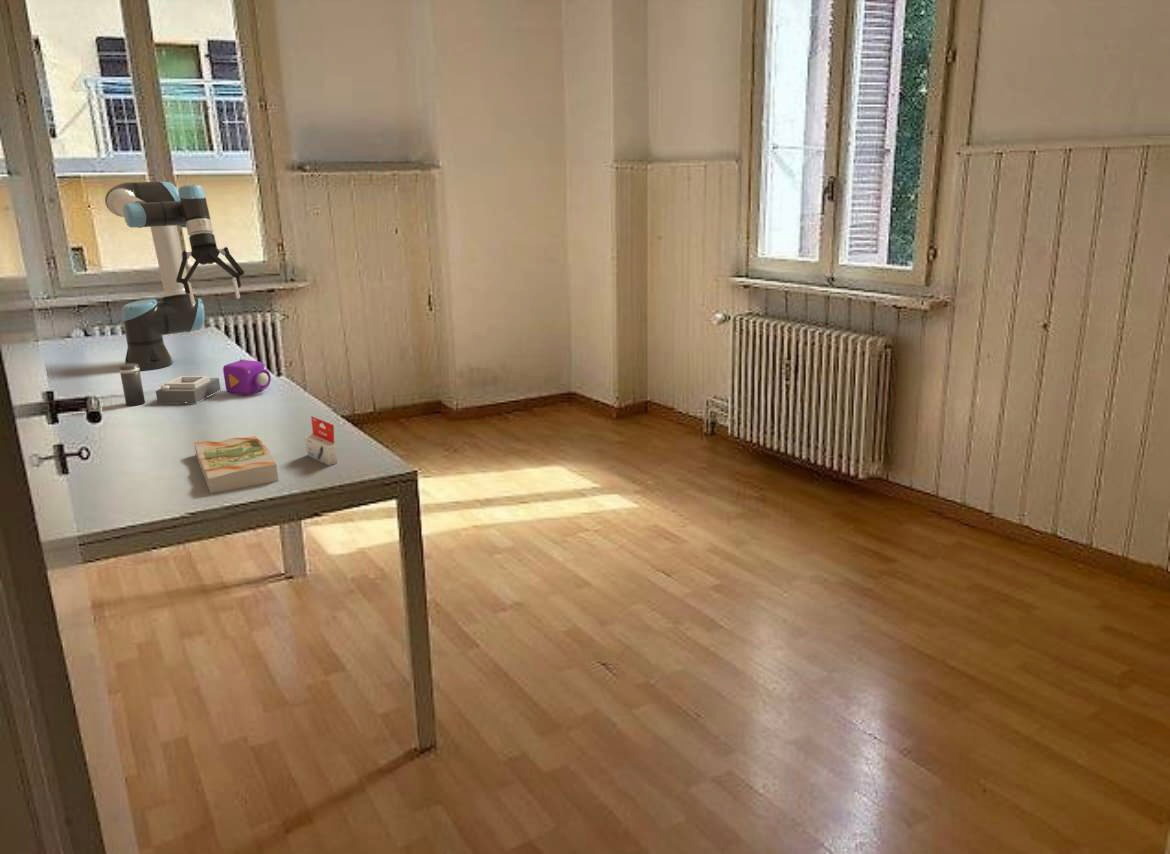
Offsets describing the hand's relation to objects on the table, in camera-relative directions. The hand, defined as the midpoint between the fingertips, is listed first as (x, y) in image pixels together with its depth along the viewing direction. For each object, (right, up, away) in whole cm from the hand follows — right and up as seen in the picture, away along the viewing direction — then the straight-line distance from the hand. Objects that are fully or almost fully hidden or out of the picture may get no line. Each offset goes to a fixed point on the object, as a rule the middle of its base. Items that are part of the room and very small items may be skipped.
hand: (216, 300), depth 276 cm
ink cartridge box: (+54, -48, -65) cm, 97 cm away
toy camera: (+12, -29, -2) cm, 32 cm away
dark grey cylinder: (-19, -33, -13) cm, 40 cm away
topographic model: (+34, -51, -69) cm, 92 cm away
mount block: (-6, -31, -6) cm, 32 cm away
